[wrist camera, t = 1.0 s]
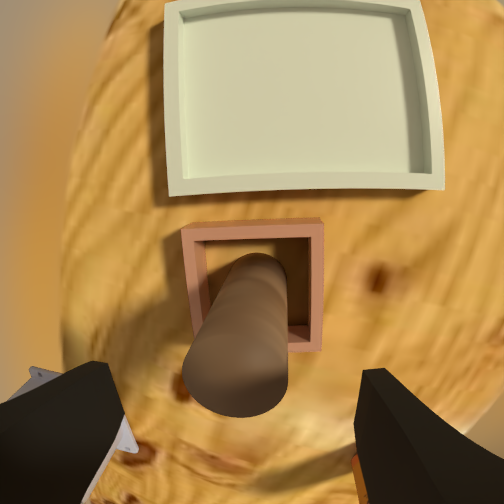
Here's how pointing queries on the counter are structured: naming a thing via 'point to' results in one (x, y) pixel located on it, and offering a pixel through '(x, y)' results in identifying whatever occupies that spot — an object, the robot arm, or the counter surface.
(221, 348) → the dowel
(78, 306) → the counter surface
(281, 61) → the tray
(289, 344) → the holder
